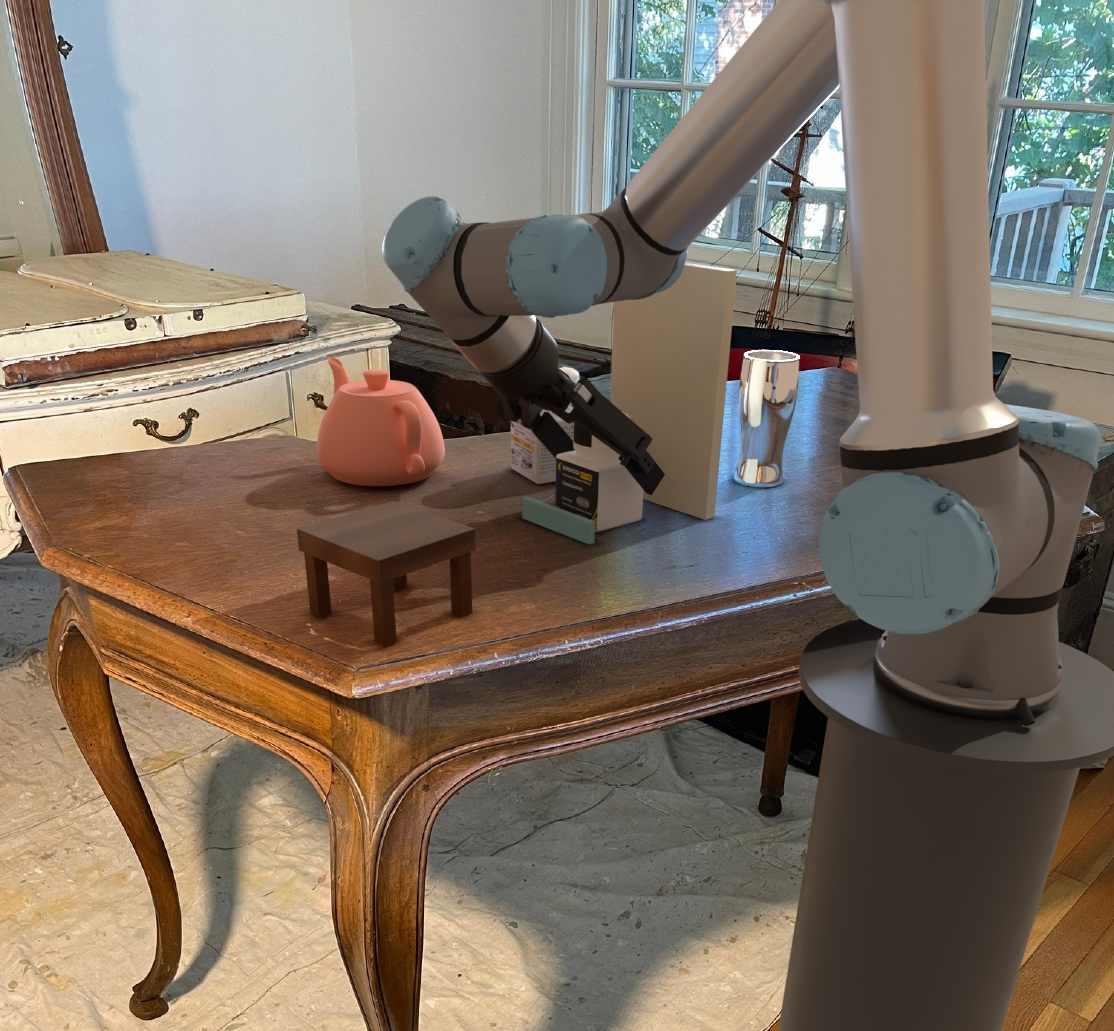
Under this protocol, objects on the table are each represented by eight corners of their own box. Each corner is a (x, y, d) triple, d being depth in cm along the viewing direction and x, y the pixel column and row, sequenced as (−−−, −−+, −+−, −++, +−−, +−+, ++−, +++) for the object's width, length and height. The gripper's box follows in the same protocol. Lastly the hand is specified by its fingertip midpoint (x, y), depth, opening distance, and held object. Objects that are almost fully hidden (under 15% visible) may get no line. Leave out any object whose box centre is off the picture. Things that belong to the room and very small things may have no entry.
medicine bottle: (553, 516, 124) (555, 408, 118) (600, 504, 128) (604, 399, 122) (595, 533, 119) (599, 422, 113) (643, 520, 123) (649, 412, 117)
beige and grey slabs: (714, 517, 125) (737, 270, 112) (605, 551, 115) (616, 283, 102) (615, 484, 135) (626, 254, 122) (507, 512, 125) (506, 265, 112)
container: (510, 468, 140) (509, 362, 134) (563, 461, 143) (565, 357, 137) (537, 485, 134) (537, 375, 128) (592, 477, 137) (596, 369, 131)
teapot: (284, 460, 141) (273, 360, 135) (391, 443, 149) (386, 347, 143) (363, 506, 126) (355, 395, 120) (478, 484, 134) (476, 378, 128)
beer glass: (755, 469, 142) (768, 347, 134) (797, 482, 137) (813, 356, 130) (718, 479, 138) (729, 354, 130) (761, 492, 133) (775, 363, 126)
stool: (477, 612, 100) (475, 528, 96) (384, 650, 93) (378, 560, 89) (398, 581, 107) (393, 500, 103) (305, 613, 100) (296, 528, 96)
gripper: (619, 331, 98) (714, 467, 115) (449, 295, 114) (554, 419, 130) (574, 400, 98) (676, 527, 114) (409, 354, 114) (520, 471, 130)
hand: (611, 470), depth 122 cm, fingers open, 13 cm apart
